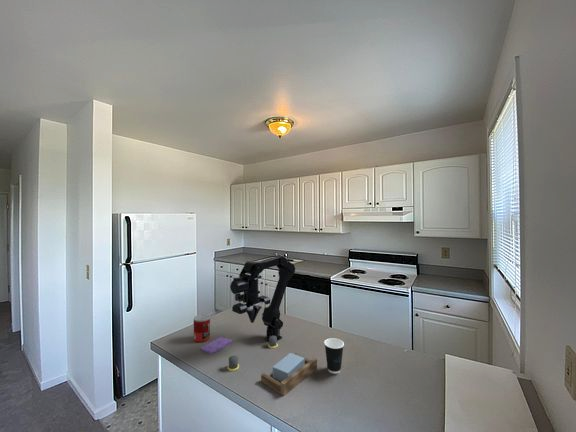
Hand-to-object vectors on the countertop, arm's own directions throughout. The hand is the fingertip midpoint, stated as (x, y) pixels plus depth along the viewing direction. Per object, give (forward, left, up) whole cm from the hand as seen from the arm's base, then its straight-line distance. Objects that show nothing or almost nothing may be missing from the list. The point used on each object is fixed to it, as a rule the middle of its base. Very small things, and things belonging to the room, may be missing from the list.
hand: (252, 322), depth 118 cm
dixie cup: (-11, +37, -13) cm, 41 cm away
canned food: (+10, -27, -13) cm, 32 cm away
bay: (+3, +25, -12) cm, 28 cm away
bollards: (+3, +5, -12) cm, 14 cm away
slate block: (+2, +25, -13) cm, 28 cm away
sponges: (+9, -15, -13) cm, 22 cm away
